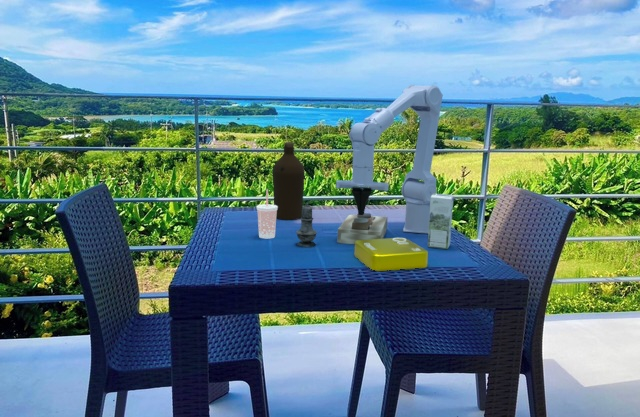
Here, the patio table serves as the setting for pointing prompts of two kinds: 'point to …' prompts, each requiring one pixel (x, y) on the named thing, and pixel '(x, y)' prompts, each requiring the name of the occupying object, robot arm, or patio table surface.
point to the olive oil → (288, 185)
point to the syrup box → (440, 221)
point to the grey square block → (352, 235)
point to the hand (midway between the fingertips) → (361, 214)
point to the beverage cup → (267, 219)
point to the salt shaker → (306, 228)
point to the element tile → (390, 254)
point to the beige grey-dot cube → (366, 217)
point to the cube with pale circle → (360, 224)
